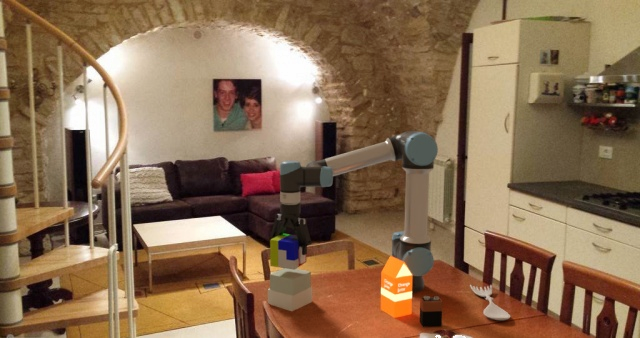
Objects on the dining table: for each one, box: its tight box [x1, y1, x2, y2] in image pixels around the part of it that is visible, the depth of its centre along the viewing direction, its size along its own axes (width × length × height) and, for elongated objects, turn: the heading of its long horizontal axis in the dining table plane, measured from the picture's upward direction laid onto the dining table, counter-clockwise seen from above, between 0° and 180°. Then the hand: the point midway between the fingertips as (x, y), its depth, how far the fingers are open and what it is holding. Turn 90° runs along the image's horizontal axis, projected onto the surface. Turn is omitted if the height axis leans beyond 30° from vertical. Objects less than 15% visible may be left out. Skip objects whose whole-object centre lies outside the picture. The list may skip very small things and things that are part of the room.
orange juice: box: [380, 255, 413, 319], centre depth 197 cm, size 8×9×20 cm
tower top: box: [269, 268, 312, 296], centre depth 205 cm, size 11×11×6 cm
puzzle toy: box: [269, 233, 307, 270], centre depth 203 cm, size 10×10×10 cm
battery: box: [419, 295, 443, 328], centre depth 186 cm, size 4×7×10 cm, turn 94°
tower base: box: [267, 286, 313, 312], centre depth 206 cm, size 12×12×6 cm
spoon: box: [469, 284, 511, 321], centre depth 203 cm, size 9×32×4 cm, turn 176°
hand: (290, 259), depth 205 cm, fingers closed on puzzle toy, 11 cm apart
